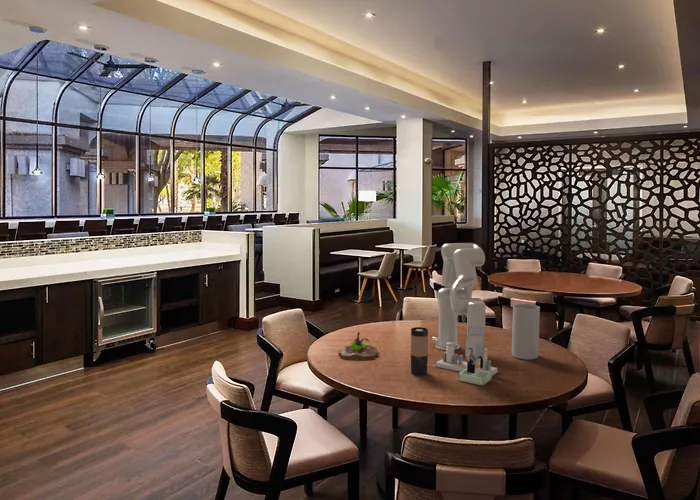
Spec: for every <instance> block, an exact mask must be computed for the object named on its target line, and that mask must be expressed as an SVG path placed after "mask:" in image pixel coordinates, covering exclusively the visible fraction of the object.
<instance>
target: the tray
mask: <svg viewBox="0 0 700 500" xmlns="http://www.w3.org/2000/svg"><path fill="white" fill-rule="evenodd" d="M492 377H493V376H492V373H490V372H485V371H480V377H475V376H471V373H468V372H467V369H465V370H463V371H462V372H458V378H457V379H458V381H461V382H465V383H469V384H474V385H478V386H483V387H484V386H485V385H486V384H488V383H489V382H490V381H492Z"/></svg>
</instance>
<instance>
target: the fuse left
mask: <svg viewBox="0 0 700 500" xmlns="http://www.w3.org/2000/svg"><path fill="white" fill-rule="evenodd" d="M446 345H447V346H446V350H445V352H446V362H447V363H453V356H454V355H455V350H454V345H455V343H453V342H447V343H446Z"/></svg>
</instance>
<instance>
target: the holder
mask: <svg viewBox="0 0 700 500" xmlns="http://www.w3.org/2000/svg"><path fill="white" fill-rule="evenodd" d="M470 359H471V358H470ZM435 367H437V368H442V369H446V370H451V371H454V372H455V371H456V372H458V373H460V372H462V371H463V370H465V369H467V361H464V355H463V354H460V355H459V354H458V353H454V356H453V363H447V362H446V351H444V352H442V358H441V359H440V360H438V361H436V362H435ZM480 371H485V372H490V373H492V377H493V376H494V375H495V374H497V373H498V367H494V366H492V360H491V359H489V360H488V359H487V369H486V370H481V369H480Z"/></svg>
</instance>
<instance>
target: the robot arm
mask: <svg viewBox="0 0 700 500" xmlns="http://www.w3.org/2000/svg"><path fill="white" fill-rule="evenodd" d="M440 252H441V257H442V260H443V264H442V265H443V266H442V274H441V275H442V276H441V283H442V286H444V287H441V288H439V289H438V291H437V294H436V296H437V305H438V306H437V307H438V335H437V337H435V336H432V338H431V342H434V343H435V349H438V350H442V351H446V346H447V345H446V343H447V342H453V343H455V345H454V351H457V350H459V349H460V348H461V346H460V344H458V316H466V318H467V319H466V321H467V322H466V334H467V335H466V341H465V350H464V351H465V353H464V354H465V358H466V362H467V372H468V373H473V374H474V373H475V364H474V362H475V358H477V357H479V358H481V361H480V368H483V358H484V356H483V354H484V348H485V335H486V309H487V308H486V306H487V305H486V303H485V301H484V300H483V299H482V298H480V297H473V288H474V282H475V281H476V278H477V276H476V272H475V267H482V266H484V264H485V262H486V256H485V251H484V250H483V249H482V247H480V246H479V245H478V244H476V243H469V242H467V243H461V242H459V243H457V242H454V243H449V242H448V243H443V245H442V246H441V249H440ZM470 358H471V359H470ZM472 359H473V360H472Z"/></svg>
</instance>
